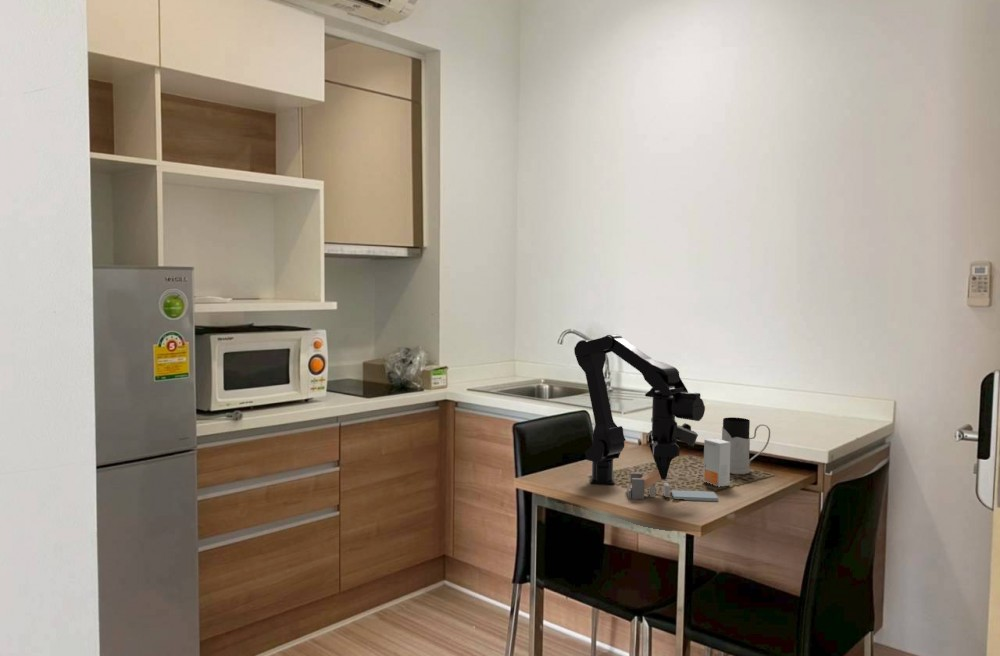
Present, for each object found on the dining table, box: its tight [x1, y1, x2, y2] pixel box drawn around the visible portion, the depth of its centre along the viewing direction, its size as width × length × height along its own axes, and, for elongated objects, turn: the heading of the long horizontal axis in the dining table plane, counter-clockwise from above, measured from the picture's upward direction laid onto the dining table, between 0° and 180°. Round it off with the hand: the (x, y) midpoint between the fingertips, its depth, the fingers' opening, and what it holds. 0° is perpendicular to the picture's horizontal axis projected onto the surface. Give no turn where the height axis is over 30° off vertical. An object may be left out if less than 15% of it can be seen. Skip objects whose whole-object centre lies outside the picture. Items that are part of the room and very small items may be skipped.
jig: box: [626, 471, 671, 500], centre depth 201 cm, size 7×10×5 cm
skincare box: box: [702, 437, 731, 488], centre depth 213 cm, size 6×4×12 cm
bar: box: [628, 468, 669, 490], centre depth 200 cm, size 4×10×2 cm
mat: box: [670, 489, 719, 502], centre depth 199 cm, size 6×11×1 cm, turn 84°
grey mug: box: [721, 416, 771, 475], centre depth 228 cm, size 9×14×15 cm, turn 87°
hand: (662, 475), depth 200 cm, fingers open, 7 cm apart
